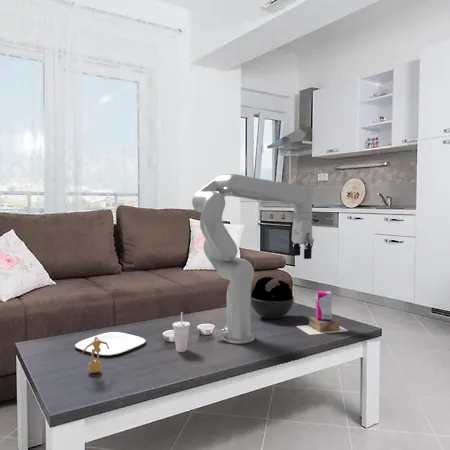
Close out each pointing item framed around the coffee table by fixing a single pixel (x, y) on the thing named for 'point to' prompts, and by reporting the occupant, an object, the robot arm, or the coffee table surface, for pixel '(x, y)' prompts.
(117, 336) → the plate
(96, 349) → the figurine
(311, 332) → the board
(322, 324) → the walnut block
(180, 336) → the smoothie
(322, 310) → the supplement box
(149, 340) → the coffee table surface
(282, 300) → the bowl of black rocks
